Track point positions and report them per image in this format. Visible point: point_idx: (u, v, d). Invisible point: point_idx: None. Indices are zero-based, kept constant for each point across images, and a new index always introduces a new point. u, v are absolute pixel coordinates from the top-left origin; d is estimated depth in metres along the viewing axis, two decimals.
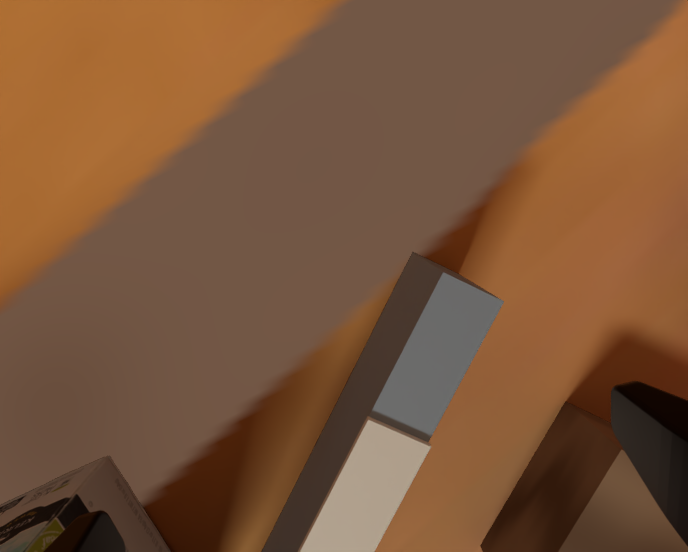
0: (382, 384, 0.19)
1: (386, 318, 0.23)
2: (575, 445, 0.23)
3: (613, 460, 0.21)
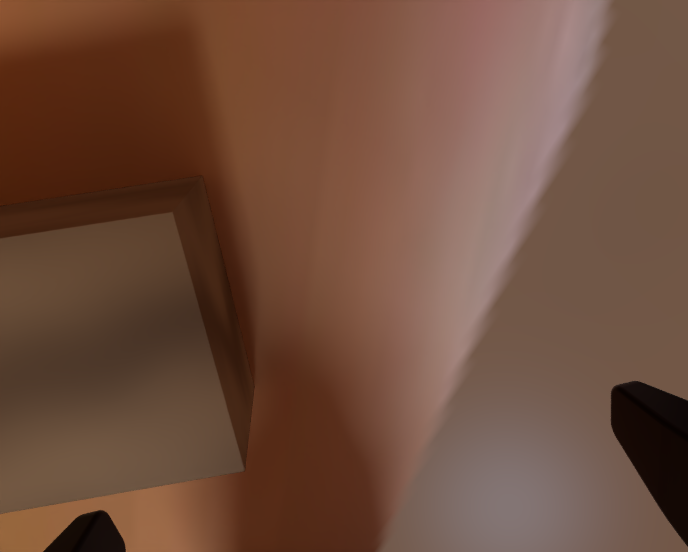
0: None
1: None
2: None
3: None
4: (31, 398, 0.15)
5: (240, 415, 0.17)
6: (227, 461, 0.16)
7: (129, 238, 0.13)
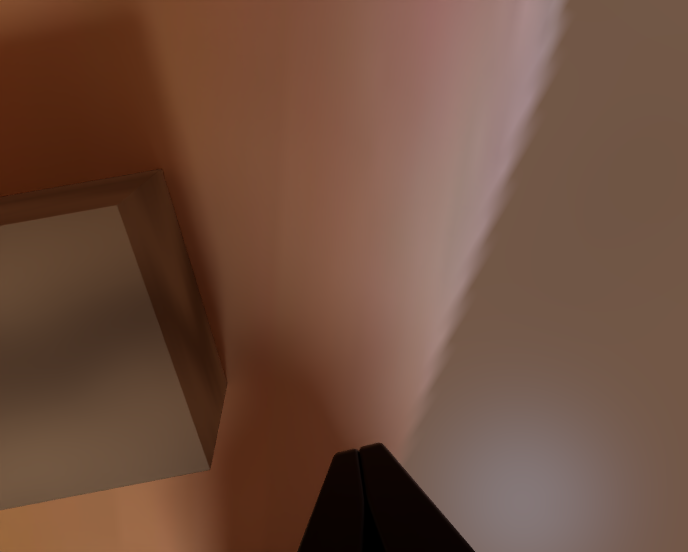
0: None
1: None
2: None
3: None
4: None
5: (206, 413, 0.17)
6: (191, 460, 0.16)
7: (74, 233, 0.13)
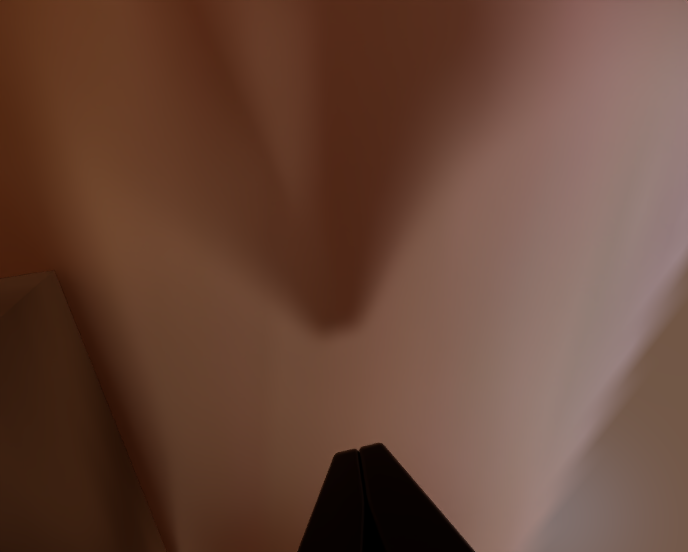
0: None
1: None
2: None
3: None
4: None
5: None
6: None
7: None
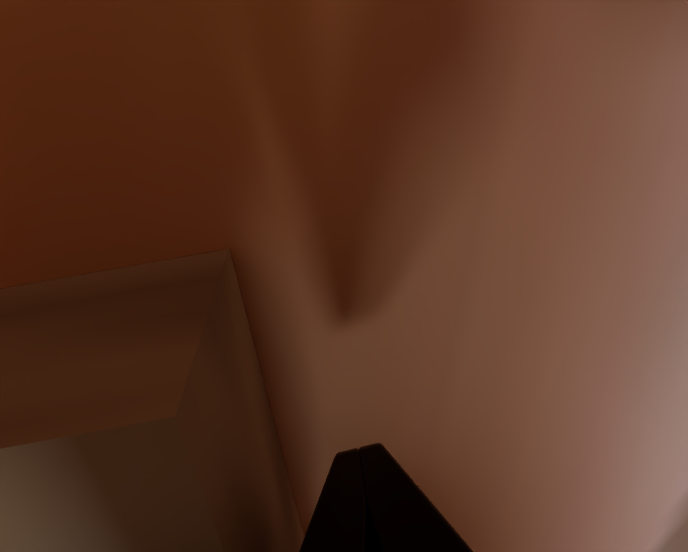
0: None
1: None
2: None
3: None
4: None
5: None
6: None
7: (60, 483, 0.05)
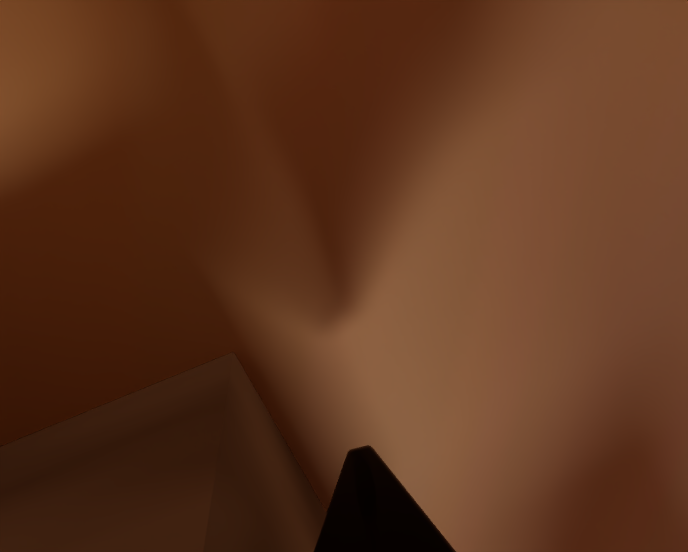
0: None
1: None
2: None
3: None
4: None
5: None
6: None
7: None
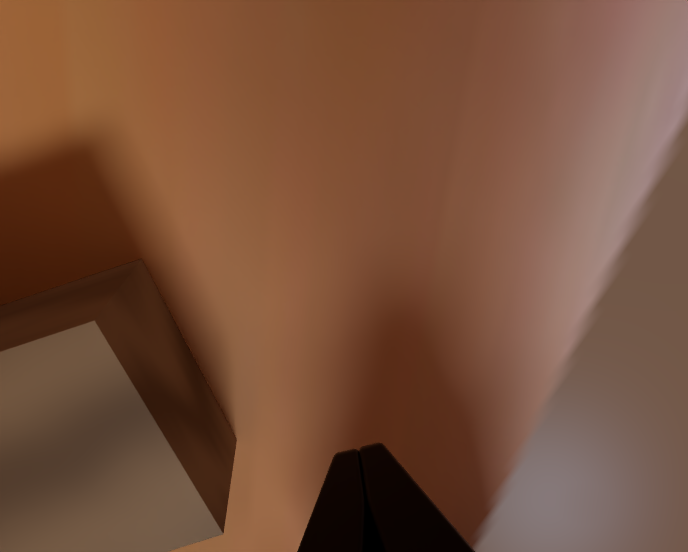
0: None
1: None
2: None
3: None
4: (10, 500, 0.16)
5: (213, 479, 0.18)
6: (204, 527, 0.17)
7: (61, 350, 0.14)
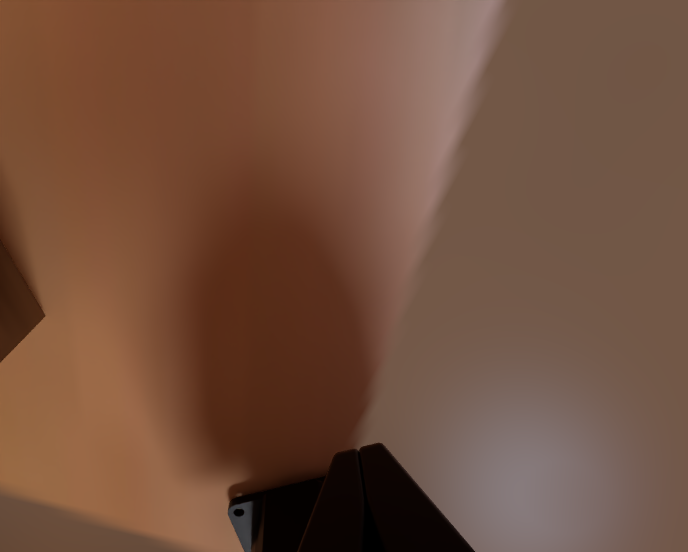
0: None
1: None
2: None
3: None
4: None
5: None
6: None
7: None
